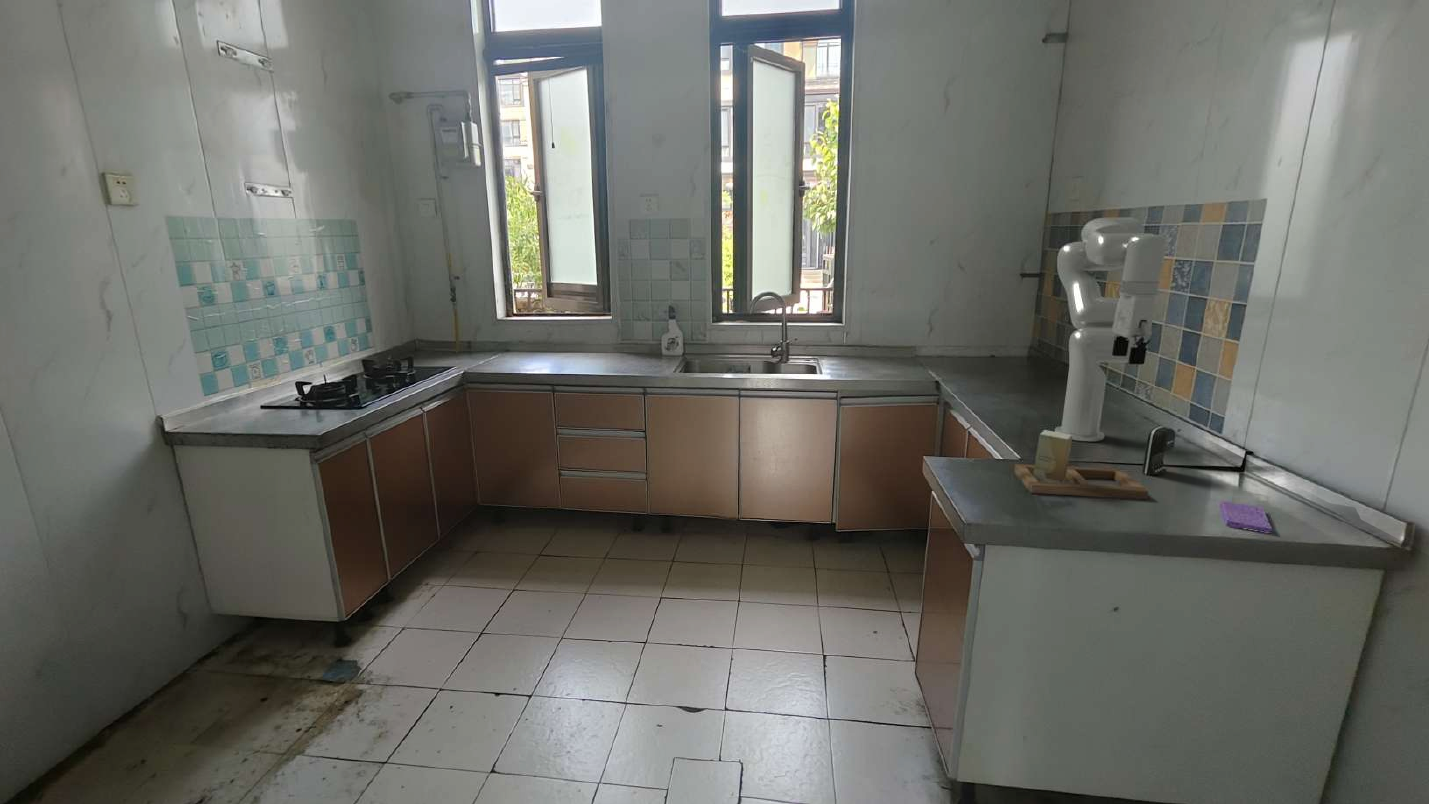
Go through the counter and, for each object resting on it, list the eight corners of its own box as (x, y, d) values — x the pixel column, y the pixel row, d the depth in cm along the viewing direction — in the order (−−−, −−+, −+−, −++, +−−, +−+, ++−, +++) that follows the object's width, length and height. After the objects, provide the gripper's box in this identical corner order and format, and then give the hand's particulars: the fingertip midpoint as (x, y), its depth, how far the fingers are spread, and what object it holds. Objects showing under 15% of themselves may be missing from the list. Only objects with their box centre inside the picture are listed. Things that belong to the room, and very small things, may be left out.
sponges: (1224, 528, 126) (1226, 519, 126) (1219, 506, 137) (1220, 498, 136) (1270, 537, 123) (1272, 528, 122) (1261, 514, 133) (1262, 506, 132)
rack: (1013, 471, 157) (1014, 463, 156) (1118, 476, 153) (1120, 468, 152) (1030, 492, 144) (1031, 484, 143) (1146, 499, 140) (1148, 490, 139)
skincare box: (1031, 482, 150) (1038, 433, 147) (1036, 477, 153) (1042, 429, 150) (1061, 489, 146) (1068, 438, 143) (1066, 483, 149) (1073, 434, 146)
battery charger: (1158, 478, 152) (1166, 433, 149) (1141, 473, 155) (1148, 429, 152) (1171, 472, 155) (1179, 428, 153) (1153, 468, 158) (1161, 424, 156)
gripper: (1107, 285, 158) (1097, 352, 163) (1137, 292, 142) (1125, 367, 146) (1140, 285, 156) (1129, 353, 161) (1174, 292, 140) (1161, 368, 145)
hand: (1127, 359), depth 154 cm, fingers open, 9 cm apart
